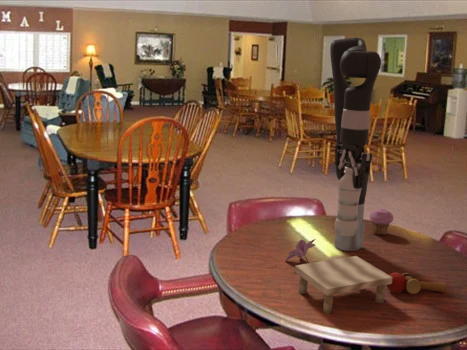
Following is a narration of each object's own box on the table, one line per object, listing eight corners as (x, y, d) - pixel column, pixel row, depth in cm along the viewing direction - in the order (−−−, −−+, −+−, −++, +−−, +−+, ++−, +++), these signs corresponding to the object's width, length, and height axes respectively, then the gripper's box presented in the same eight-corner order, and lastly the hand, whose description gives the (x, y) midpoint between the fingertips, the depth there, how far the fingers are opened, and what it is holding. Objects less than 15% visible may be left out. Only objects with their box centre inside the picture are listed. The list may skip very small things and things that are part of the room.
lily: (320, 261, 195) (310, 235, 196) (328, 261, 183) (318, 233, 184) (287, 273, 193) (278, 246, 194) (294, 274, 181) (284, 245, 183)
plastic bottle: (357, 239, 158) (364, 170, 153) (333, 237, 159) (339, 168, 154) (357, 232, 164) (364, 165, 159) (334, 229, 165) (339, 163, 160)
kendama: (435, 289, 177) (380, 281, 175) (442, 272, 174) (386, 264, 172) (444, 304, 170) (387, 297, 168) (451, 287, 167) (393, 279, 165)
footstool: (354, 279, 178) (356, 255, 176) (389, 302, 163) (392, 277, 161) (293, 290, 169) (295, 265, 167) (325, 316, 154) (327, 289, 152)
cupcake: (367, 235, 219) (369, 210, 216) (369, 228, 227) (371, 204, 224) (391, 238, 216) (393, 213, 214) (391, 231, 224) (394, 207, 222)
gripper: (383, 129, 149) (377, 190, 153) (350, 121, 162) (346, 178, 166) (360, 131, 146) (354, 193, 150) (328, 122, 159) (324, 180, 163)
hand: (350, 185), depth 158 cm, fingers closed on plastic bottle, 6 cm apart
